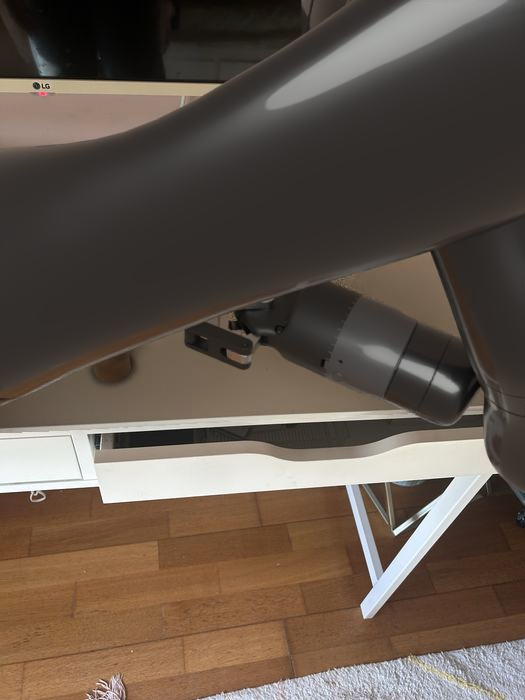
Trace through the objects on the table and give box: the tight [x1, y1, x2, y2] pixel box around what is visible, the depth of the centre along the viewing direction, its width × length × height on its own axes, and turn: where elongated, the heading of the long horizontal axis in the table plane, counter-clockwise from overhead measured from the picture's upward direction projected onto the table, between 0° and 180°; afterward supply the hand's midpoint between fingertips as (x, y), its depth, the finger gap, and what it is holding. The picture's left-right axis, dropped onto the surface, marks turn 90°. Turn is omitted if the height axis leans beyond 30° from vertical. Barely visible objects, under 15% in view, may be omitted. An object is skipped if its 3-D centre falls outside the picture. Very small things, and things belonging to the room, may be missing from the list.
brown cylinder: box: [92, 351, 132, 383], centre depth 59 cm, size 4×4×20 cm
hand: (185, 268), depth 48 cm, fingers open, 8 cm apart
